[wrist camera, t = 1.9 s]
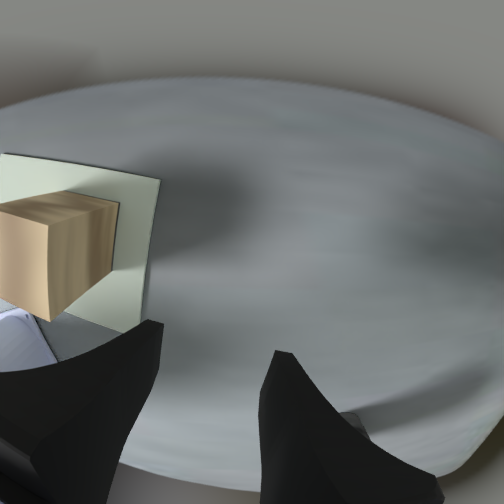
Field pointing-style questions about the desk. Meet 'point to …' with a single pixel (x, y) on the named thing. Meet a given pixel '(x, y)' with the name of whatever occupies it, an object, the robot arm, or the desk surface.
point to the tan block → (55, 249)
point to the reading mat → (127, 235)
